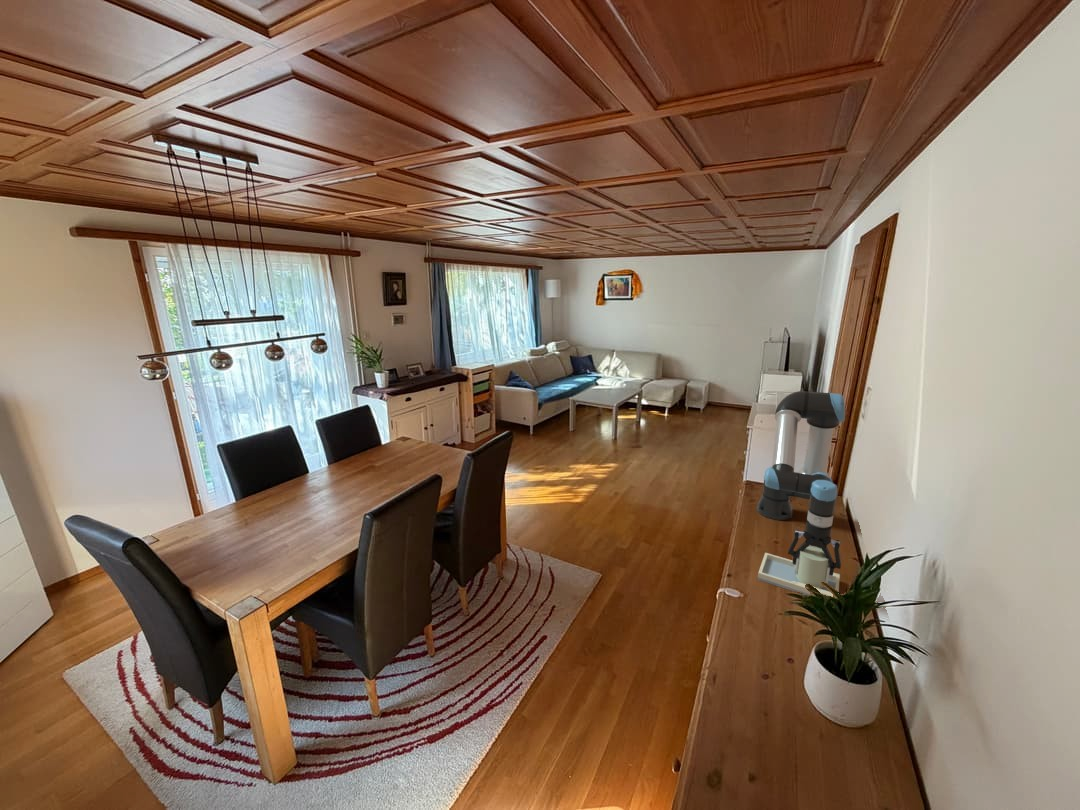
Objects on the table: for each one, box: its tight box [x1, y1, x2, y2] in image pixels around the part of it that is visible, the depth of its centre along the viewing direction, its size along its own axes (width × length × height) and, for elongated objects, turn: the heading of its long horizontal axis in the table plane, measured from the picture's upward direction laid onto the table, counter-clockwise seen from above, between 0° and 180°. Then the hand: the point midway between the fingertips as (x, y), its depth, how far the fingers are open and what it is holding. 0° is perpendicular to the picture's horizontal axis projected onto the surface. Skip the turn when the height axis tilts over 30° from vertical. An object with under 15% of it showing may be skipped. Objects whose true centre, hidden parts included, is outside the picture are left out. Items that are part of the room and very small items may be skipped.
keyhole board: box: [757, 552, 841, 597], centre depth 159 cm, size 15×25×3 cm, turn 54°
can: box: [796, 545, 829, 588], centre depth 154 cm, size 9×9×12 cm
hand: (811, 576), depth 156 cm, fingers closed on can, 9 cm apart
